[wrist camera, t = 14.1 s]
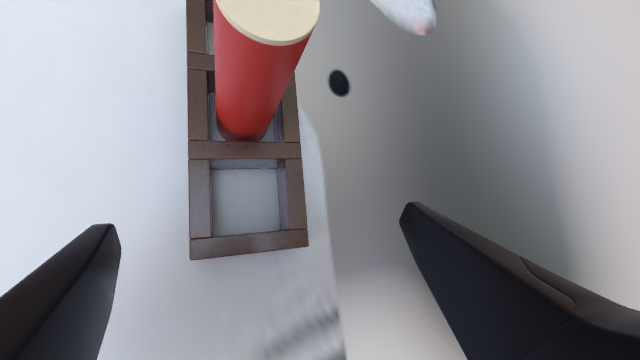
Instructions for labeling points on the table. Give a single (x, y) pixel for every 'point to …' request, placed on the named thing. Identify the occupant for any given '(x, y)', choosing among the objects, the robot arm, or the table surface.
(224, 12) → the red cylinder
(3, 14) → the table surface
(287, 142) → the brown wooden rack
